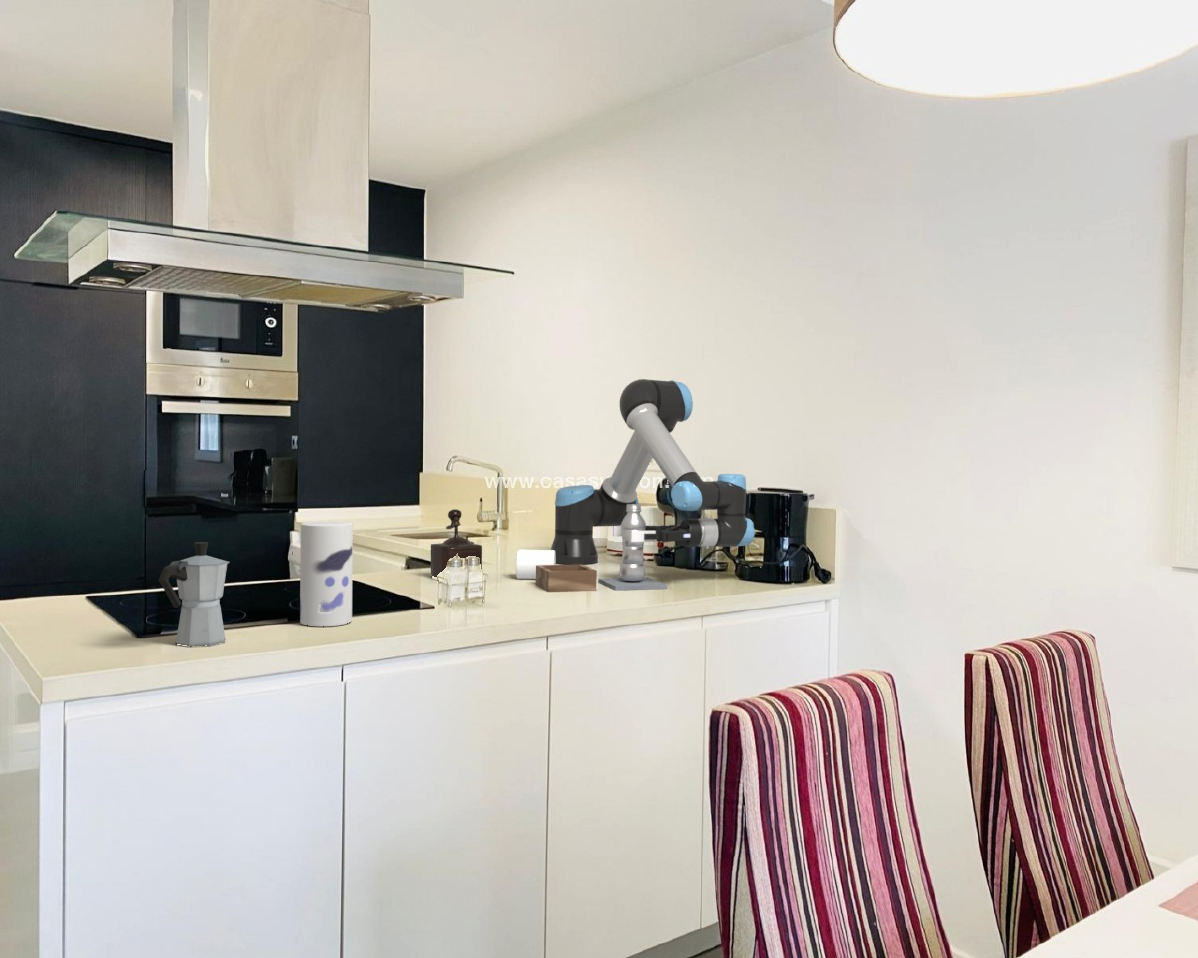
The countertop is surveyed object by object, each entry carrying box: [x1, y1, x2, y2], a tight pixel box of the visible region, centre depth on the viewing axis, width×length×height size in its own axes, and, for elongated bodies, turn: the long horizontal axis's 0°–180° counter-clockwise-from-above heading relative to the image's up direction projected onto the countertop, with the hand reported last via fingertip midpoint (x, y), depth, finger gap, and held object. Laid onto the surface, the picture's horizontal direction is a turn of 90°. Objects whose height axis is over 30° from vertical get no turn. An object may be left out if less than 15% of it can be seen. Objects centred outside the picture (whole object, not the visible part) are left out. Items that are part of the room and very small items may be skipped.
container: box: [299, 520, 354, 627], centre depth 194 cm, size 10×10×20 cm
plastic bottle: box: [619, 503, 647, 582], centre depth 251 cm, size 6×7×20 cm
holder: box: [535, 564, 598, 593], centre depth 246 cm, size 12×12×5 cm
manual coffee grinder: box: [430, 508, 483, 577], centre depth 259 cm, size 16×11×18 cm
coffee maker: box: [158, 541, 230, 647], centre depth 172 cm, size 15×9×18 cm, turn 154°
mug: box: [515, 548, 557, 581], centre depth 262 cm, size 12×10×8 cm
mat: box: [597, 576, 668, 591], centre depth 251 cm, size 14×14×1 cm
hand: (621, 533), depth 250 cm, fingers open, 13 cm apart
